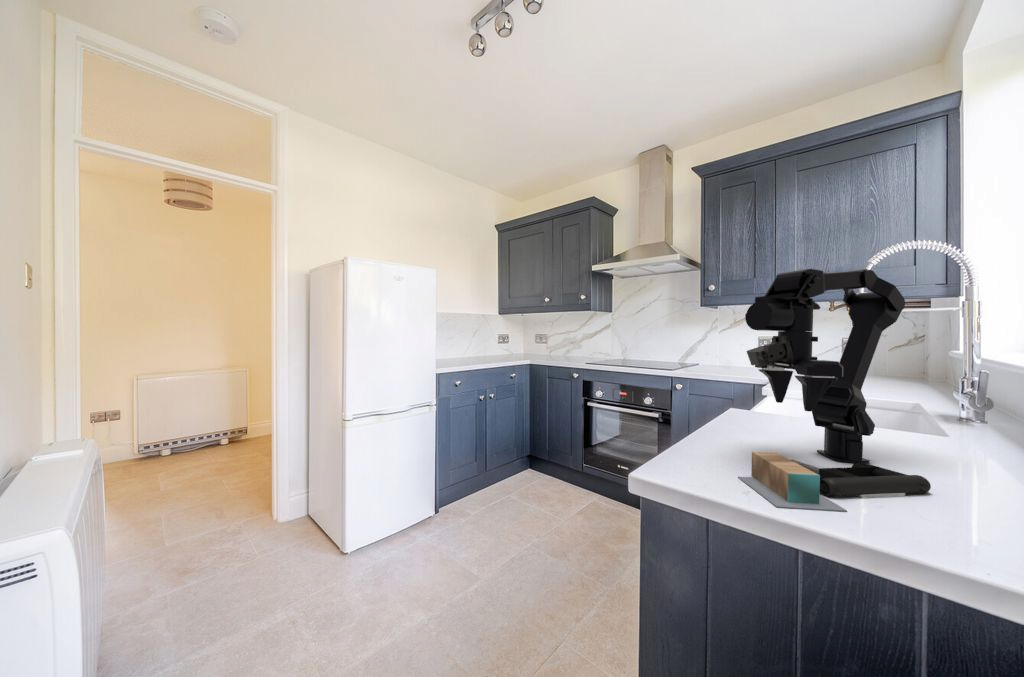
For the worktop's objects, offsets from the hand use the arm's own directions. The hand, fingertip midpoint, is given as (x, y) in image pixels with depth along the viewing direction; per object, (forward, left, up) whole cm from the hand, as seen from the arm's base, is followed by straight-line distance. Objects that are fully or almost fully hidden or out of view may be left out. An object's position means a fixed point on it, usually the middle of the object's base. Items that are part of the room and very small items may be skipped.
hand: (792, 406), depth 77 cm
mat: (+15, -10, -12) cm, 22 cm away
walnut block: (+9, -10, -10) cm, 16 cm away
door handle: (+8, +4, -13) cm, 16 cm away
